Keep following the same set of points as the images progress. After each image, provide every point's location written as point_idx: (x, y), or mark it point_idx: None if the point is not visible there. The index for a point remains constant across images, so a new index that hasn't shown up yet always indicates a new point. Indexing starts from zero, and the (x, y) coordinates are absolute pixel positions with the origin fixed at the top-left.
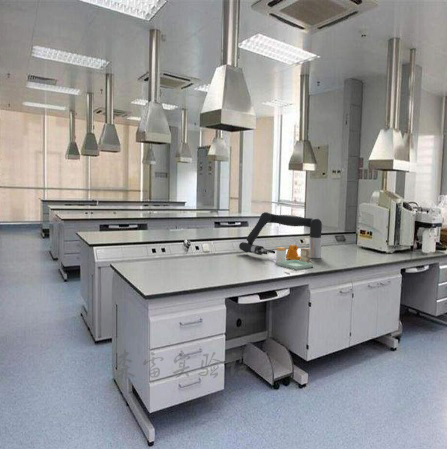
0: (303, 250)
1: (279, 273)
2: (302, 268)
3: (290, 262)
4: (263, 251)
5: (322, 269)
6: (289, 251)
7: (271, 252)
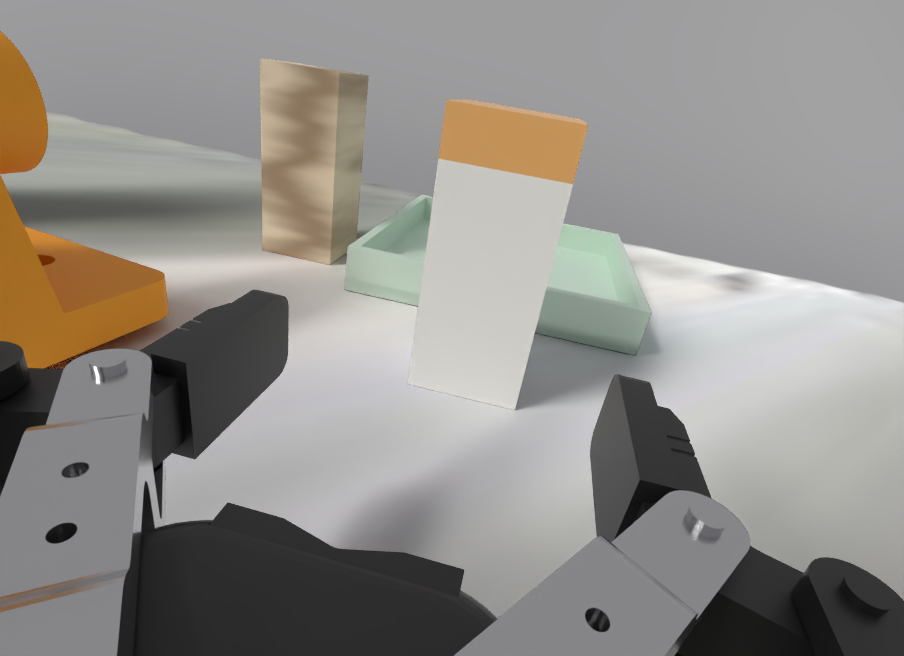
0: (354, 97)
1: (805, 302)
2: None
3: None
4: (679, 509)
5: None
6: (5, 196)
7: (196, 439)
